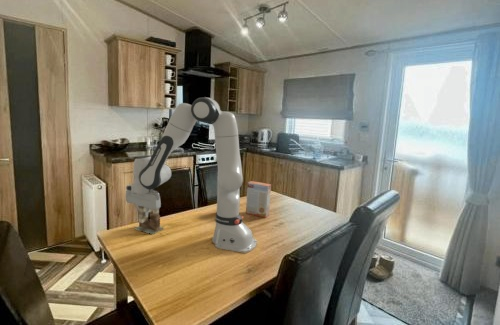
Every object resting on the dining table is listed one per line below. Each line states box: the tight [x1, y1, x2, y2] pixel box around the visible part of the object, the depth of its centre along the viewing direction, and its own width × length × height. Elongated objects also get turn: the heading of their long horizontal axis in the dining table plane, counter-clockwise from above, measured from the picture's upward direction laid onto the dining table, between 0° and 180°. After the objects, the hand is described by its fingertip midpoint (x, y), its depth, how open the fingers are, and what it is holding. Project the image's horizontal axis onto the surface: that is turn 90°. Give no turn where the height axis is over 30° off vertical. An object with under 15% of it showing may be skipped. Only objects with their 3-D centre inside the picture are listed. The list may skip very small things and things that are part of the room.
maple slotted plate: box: [137, 206, 160, 223], centre depth 141 cm, size 12×2×8 cm, turn 156°
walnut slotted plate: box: [134, 214, 164, 235], centre depth 142 cm, size 12×8×9 cm, turn 66°
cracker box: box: [245, 180, 272, 219], centre depth 171 cm, size 14×6×21 cm, turn 64°
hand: (143, 214), depth 137 cm, fingers closed on maple slotted plate, 2 cm apart
